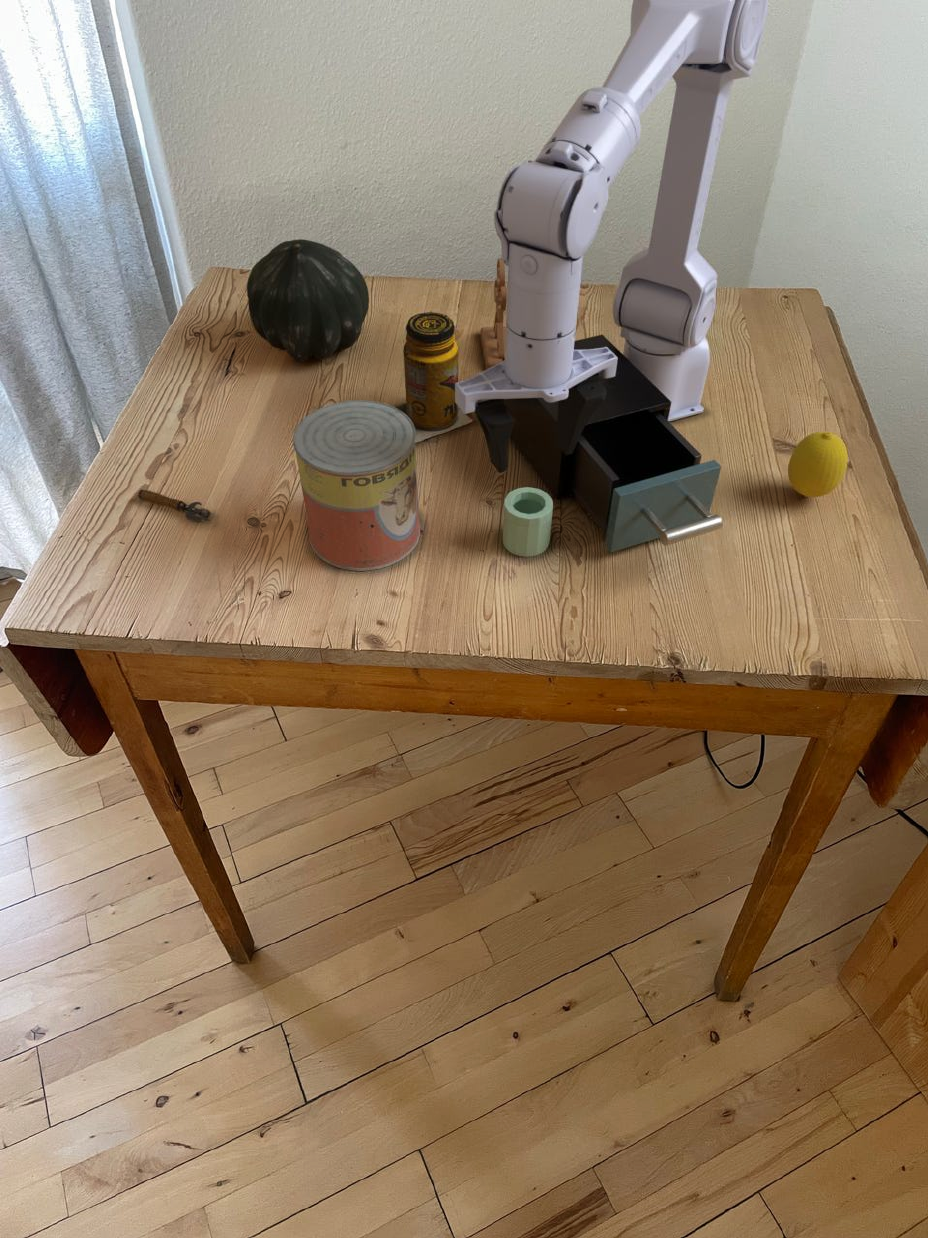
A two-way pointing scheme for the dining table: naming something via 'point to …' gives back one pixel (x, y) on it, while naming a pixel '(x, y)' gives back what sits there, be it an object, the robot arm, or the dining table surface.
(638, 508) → the drawer
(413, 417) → the condiment
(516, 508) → the jar
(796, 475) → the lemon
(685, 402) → the robot arm
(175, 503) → the can opener
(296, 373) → the dining table surface
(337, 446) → the canned food
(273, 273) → the squash
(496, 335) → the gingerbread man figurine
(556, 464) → the cabinet
